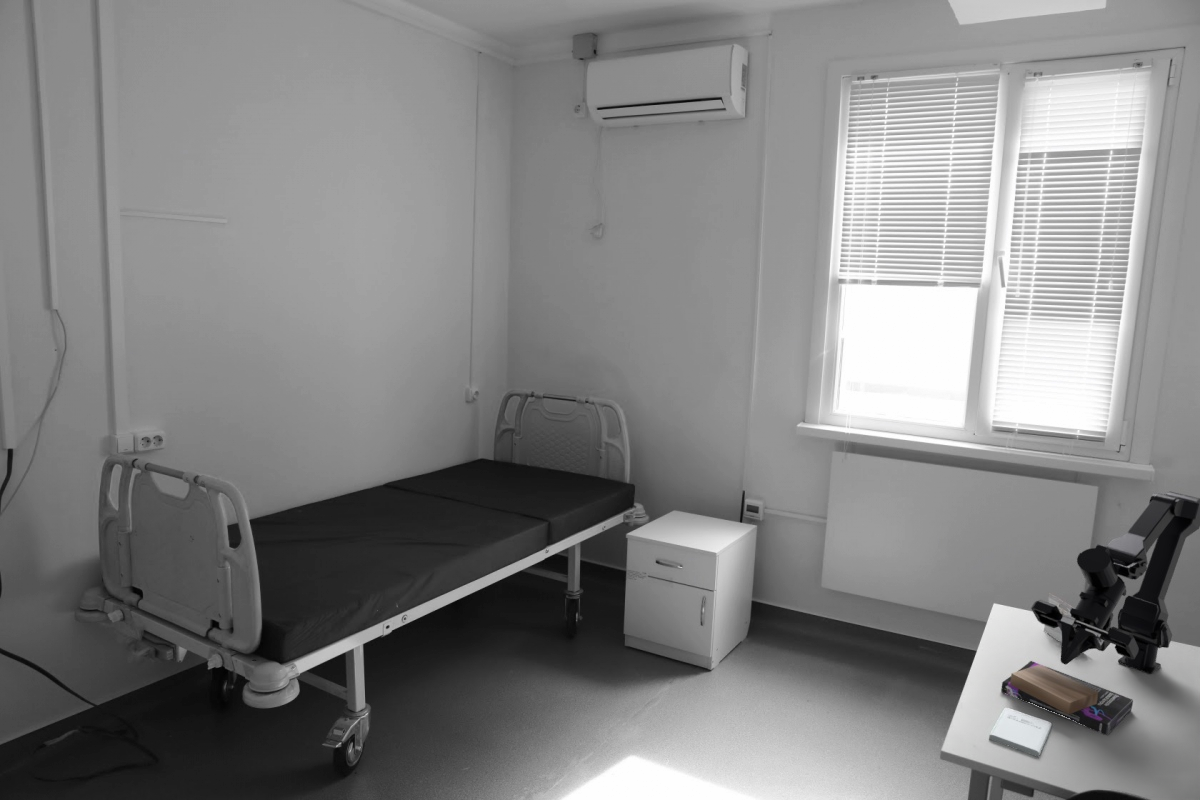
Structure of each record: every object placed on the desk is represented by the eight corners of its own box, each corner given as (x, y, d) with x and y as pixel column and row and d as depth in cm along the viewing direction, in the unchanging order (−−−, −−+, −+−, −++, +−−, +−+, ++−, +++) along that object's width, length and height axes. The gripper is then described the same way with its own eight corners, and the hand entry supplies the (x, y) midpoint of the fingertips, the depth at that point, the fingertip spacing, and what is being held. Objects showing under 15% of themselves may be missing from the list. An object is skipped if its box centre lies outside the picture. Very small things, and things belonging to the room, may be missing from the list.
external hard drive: (988, 741, 149) (1003, 713, 158) (1038, 760, 144) (1051, 730, 153) (989, 733, 148) (1004, 706, 158) (1039, 751, 143) (1052, 722, 153)
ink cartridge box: (1052, 630, 196) (1058, 592, 194) (1084, 652, 185) (1090, 612, 183) (1042, 630, 196) (1048, 592, 194) (1074, 653, 185) (1080, 612, 183)
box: (999, 696, 166) (1106, 740, 151) (1001, 680, 165) (1109, 722, 151) (1028, 675, 175) (1132, 714, 160) (1030, 660, 174) (1134, 697, 160)
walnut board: (1039, 664, 167) (1011, 673, 163) (1098, 692, 157) (1070, 702, 153) (1037, 675, 168) (1009, 684, 164) (1096, 703, 157) (1068, 714, 153)
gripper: (1159, 638, 161) (1123, 704, 157) (1064, 603, 177) (1028, 662, 172) (1147, 608, 156) (1109, 676, 151) (1049, 575, 171) (1012, 635, 167)
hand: (1063, 662), depth 161 cm, fingers closed
